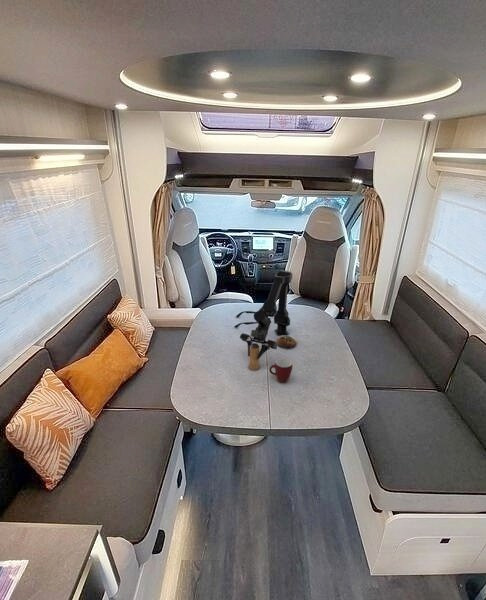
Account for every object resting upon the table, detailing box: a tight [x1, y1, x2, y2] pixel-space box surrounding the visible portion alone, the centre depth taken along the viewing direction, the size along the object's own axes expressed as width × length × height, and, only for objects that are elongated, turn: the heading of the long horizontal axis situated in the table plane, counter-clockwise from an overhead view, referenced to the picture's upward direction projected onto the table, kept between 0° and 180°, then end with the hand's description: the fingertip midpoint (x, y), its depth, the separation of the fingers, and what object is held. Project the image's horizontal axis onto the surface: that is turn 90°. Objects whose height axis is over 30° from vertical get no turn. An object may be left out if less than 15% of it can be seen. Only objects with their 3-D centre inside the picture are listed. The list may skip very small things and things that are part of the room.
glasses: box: [234, 310, 258, 329], centre depth 200 cm, size 17×18×5 cm
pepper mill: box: [248, 342, 261, 371], centre depth 154 cm, size 5×5×13 cm
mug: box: [268, 357, 293, 383], centre depth 146 cm, size 10×8×10 cm
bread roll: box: [276, 335, 297, 349], centre depth 178 cm, size 11×11×5 cm
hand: (253, 357), depth 153 cm, fingers closed on pepper mill, 5 cm apart
